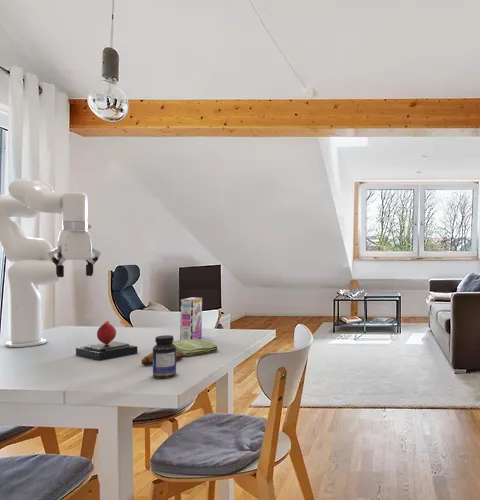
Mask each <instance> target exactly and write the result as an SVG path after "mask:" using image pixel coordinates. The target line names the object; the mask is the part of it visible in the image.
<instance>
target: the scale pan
mask: <svg viewBox="0 0 480 500" xmlns="http://www.w3.org/2000/svg"><path fill="white" fill-rule="evenodd" d="M129 345H130V344H129V343H127V342H123V341H122V342H121V341H116V340H112V341H111V342H110V343H109V344H107V345H106V344H104V343H102V342H98V343H97V342H96V343H91V344H85V345H83V347H84V348H88V349H93V350H97V351H104V350H107V349H113V348H118V347H124V346H129Z"/></svg>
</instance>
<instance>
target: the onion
mask: <svg viewBox="0 0 480 500" xmlns="http://www.w3.org/2000/svg"><path fill="white" fill-rule="evenodd" d="M97 329H98V330H97V332H96V337H97V340H98V341H99V342H100V343H104V344H106V345H107V344H109V343H110V342H111V341H114V340H115V338H116V336H117V330H116V328H115V327H114V325H112V324H111V323H110V321H109V320H105V322H104V323H103V324H102V325H100V326H99V328H97Z"/></svg>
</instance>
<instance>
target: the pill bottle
mask: <svg viewBox="0 0 480 500" xmlns="http://www.w3.org/2000/svg"><path fill="white" fill-rule="evenodd" d="M173 341H175V340H174V335H171V334H167V335H166V334H165V335H158V336H155V343H156V344H155V345H154V346H153V347H152V353H153V364H152V377H153V378H154V379H162V380H163V379H170V378H174V377H175V376H176V375H177V360H176V346H175V345H174V344H173Z"/></svg>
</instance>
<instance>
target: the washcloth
mask: <svg viewBox="0 0 480 500" xmlns="http://www.w3.org/2000/svg"><path fill="white" fill-rule="evenodd" d="M173 344H174V345H175V346H176V350H177V351H180V352H182V353H183V355H184V356H183V357H192V356H198V355H203V354H208V353H213V352H218V350H219V349H218V348H219V347H218V345H217V344H215V343H214V342H212V341H206V340H204V339H201V338H199V339H188V340H180V339H179V340H173Z"/></svg>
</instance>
